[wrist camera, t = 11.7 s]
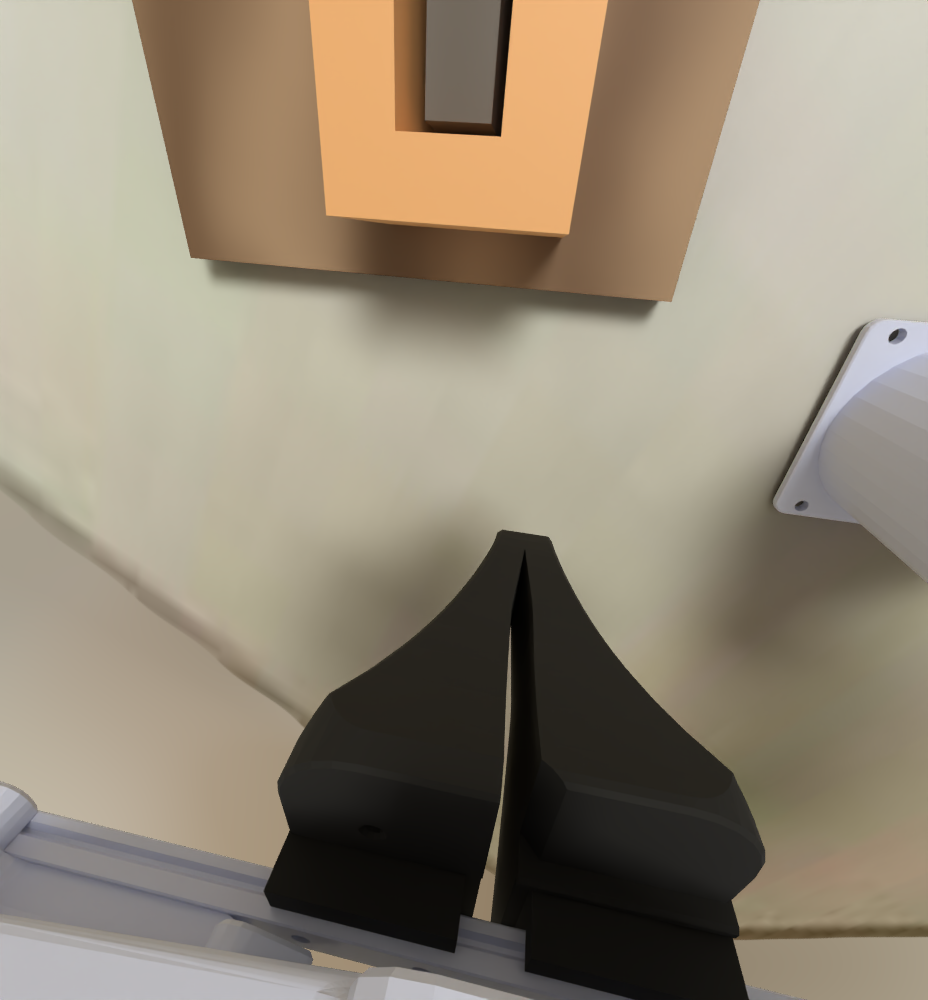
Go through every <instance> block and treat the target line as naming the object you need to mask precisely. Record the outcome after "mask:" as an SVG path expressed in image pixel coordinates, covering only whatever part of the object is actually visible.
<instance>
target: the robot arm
mask: <svg viewBox="0 0 928 1000" xmlns="http://www.w3.org/2000/svg"><path fill="white" fill-rule="evenodd" d="M896 329H899V334H898V336H897V337H896V338H895V339H894V340H892V341H890V342H889V341H888V338H889V335H890V334H891V333H892V332H893V331H895V330H896ZM800 501H804V502H803V503H802V504H801V505H799V506H795V505H796V504H797V503H798V502H800ZM773 506H774V507H775V508H776V509H777V510H778V511H779V512H781V513H785V514H792V515H799V516H806V517H814V518H821V519H828V520H836V521H843V522H850V523H857V524H861V525H862V526H863V527H864V528H866V529H867V530H868V531H869V532H870V533H871V534H872V535H873V536H875V537H876V538H877V539H878V540H879V541H880V542H881V543H883V544H884V545H885V546H886V547H887V548H888V549H889V550H890V551H892V552H893V553H894V554H895V555H896V556H897V557H898V558H900V559H901V560H902V561H903V562H904V563H905V564H906V565H907V566H909V567H910V568H911V569H912V570H913V571H914V572H915V573H916V574H918V575H919V576H920V577H921V578H922V579H923V580H924V581H926V582H927V583H928V322H920V321H909V320H898V319H887V318H880V319H875V320H873V321H871V322H869V323H868V324H867V325H865V326H864V328H863V329H862V330H861V332H860V334H859V335H858V337H857V339H856V341H855V343H854V345H853V347H852V349H851V351H850V353H849V355H848V357H847V359H846V360H845V362H844V364H843V366H842V368H841V370H840V372H839V374H838V376H837V378H836V380H835V382H834V384H833V385H832V387H831V389H830V391H829V393H828V395H827V397H826V399H825V401H824V403H823V405H822V407H821V409H820V410H819V412H818V414H817V416H816V418H815V420H814V422H813V424H812V426H811V428H810V430H809V432H808V434H807V435H806V437H805V439H804V441H803V443H802V445H801V447H800V449H799V451H798V453H797V455H796V457H795V458H794V460H793V462H792V464H791V466H790V468H789V470H788V472H787V474H786V476H785V478H784V480H783V482H782V483H781V485H780V487H779V489H778V491H777V493H776V495H775V497H774V499H773ZM510 628H511V720H510V732H509V743H508V754H507V765H506V775H505V786H504V796H503V806H502V816H501V827H500V837H499V847H498V857H497V866H496V876H495V885H494V895H493V905H492V914H491V922H489V921H485V920H481V919H477V918H473V917H472V916H473V912H474V907H475V903H476V899H477V894H478V889H479V885H480V881H481V878H483V874H484V869H485V865H486V861H487V857H488V852H489V848H490V844H491V839H492V835H493V831H494V826H495V822H496V818H497V813H498V809H499V805H500V798H501V788H502V776H503V763H504V736H505V709H506V687H507V668H508V651H509V636H510ZM278 793H279V796H280V800H281V803H282V806H283V809H284V813H285V816H286V819H287V822H288V825H289V829H290V831H289V833H288V836H287V838H286V841H285V843H284V845H283V847H282V849H281V852H280V854H279V856H278V859H277V861H276V863H275V865H274V868H270V867H266V866H262V865H258V864H254V863H250V862H246V861H242V860H238V859H234V858H229V857H226V856H222V855H217V854H213V853H209V852H205V851H201V850H197V849H193V848H189V847H185V846H181V845H177V844H172V843H169V842H165V841H161V840H157V839H153V838H148V837H144V836H140V835H136V834H132V833H128V832H124V831H120V830H116V829H112V828H108V827H104V826H100V825H96V824H92V823H87V822H84V821H80V820H75V819H71V818H67V817H63V816H59V815H55V814H51V813H47V812H43V811H38V810H37V805H36V804H35V802H34V801H33V800H32V799H31V798H30V797H29V796H28V795H27V794H26V793H25V792H23V791H22V790H21V789H19V788H17V787H15V786H13V785H10V784H7V783H4V782H1V781H0V1000H805V999H801V998H797V997H793V996H789V995H785V994H781V993H777V992H773V991H769V990H765V989H761V988H757V987H752V986H748V985H745V983H744V979H743V975H742V971H741V968H740V964H739V960H738V956H737V953H736V949H735V945H734V942H733V938H737V937H738V936H739V925H738V922H737V918H736V915H735V911H734V908H733V904H732V901H731V900H732V899H733V898H734V897H735V896H736V895H737V894H738V893H739V892H740V891H741V890H743V889H744V888H745V887H746V886H747V885H748V884H749V883H750V882H751V881H752V880H753V879H754V878H755V877H756V876H757V874H758V873H759V871H760V870H761V868H762V866H763V865H764V863H765V849H764V846H763V843H762V841H761V838H760V835H759V832H758V830H757V827H756V824H755V821H754V819H753V816H752V814H751V811H750V809H749V807H748V804H747V802H746V800H745V798H744V796H743V794H742V792H741V790H740V788H739V786H738V784H737V781H736V779H735V777H734V774H733V773H732V772H731V771H730V770H729V769H728V768H727V767H726V766H724V765H723V764H722V763H721V762H720V761H719V760H718V759H716V758H715V757H714V756H713V755H712V754H711V753H710V752H709V751H707V750H706V749H705V748H704V747H703V746H702V745H701V744H700V743H698V742H697V741H696V740H695V739H694V738H693V737H692V736H690V735H689V734H688V733H687V732H686V731H685V730H684V729H683V728H682V727H681V726H680V725H679V724H678V723H677V722H676V721H675V720H674V719H673V718H672V717H671V716H670V715H669V714H668V713H667V712H666V711H665V710H664V709H663V708H662V707H660V706H659V705H658V704H657V703H656V701H655V700H654V699H653V698H652V697H651V696H650V695H649V694H648V693H647V692H646V690H645V689H644V688H643V687H642V686H641V685H640V684H639V683H638V682H637V680H636V679H635V678H634V677H633V676H632V675H631V674H630V673H629V671H628V670H627V669H626V668H625V667H624V665H623V664H622V663H621V662H620V660H619V659H618V658H617V657H616V655H615V654H614V653H613V651H612V650H611V649H610V647H609V646H608V645H607V643H606V642H605V641H604V639H603V638H602V636H601V635H600V634H599V632H598V631H597V629H596V628H595V626H594V625H593V623H592V622H591V620H590V618H589V617H588V615H587V613H586V612H585V610H584V609H583V607H582V605H581V603H580V602H579V600H578V598H577V596H576V595H575V593H574V591H573V589H572V587H571V585H570V583H569V581H568V579H567V577H566V575H565V573H564V571H563V569H562V567H561V565H560V562H559V560H558V558H557V555H556V553H555V550H554V547H553V544H552V541H551V540H550V538H549V537H546V536H540V535H533V534H526V533H520V532H513V531H507V530H501V531H500V532H498V533H497V536H496V539H495V541H494V543H493V545H492V547H491V549H490V551H489V552H488V554H487V556H486V557H485V559H484V560H483V562H482V563H481V565H480V566H479V568H478V569H477V570H476V572H475V573H474V575H473V576H472V577H471V579H470V580H469V581H468V582H467V583H466V585H465V586H464V587H463V588H462V590H461V591H460V592H459V593H458V594H457V596H456V597H455V598H454V599H453V600H452V601H451V602H450V603H449V604H448V605H447V606H446V608H445V609H444V610H443V611H442V612H441V613H440V614H439V615H437V616H436V617H435V618H434V619H433V620H432V621H431V622H430V623H429V624H428V625H427V626H426V627H424V628H423V629H422V630H421V631H420V632H419V633H418V634H417V635H415V636H414V637H413V638H412V639H410V640H409V641H408V642H407V643H405V644H404V645H403V646H401V647H400V648H399V649H397V650H396V651H395V652H393V653H392V654H390V655H389V656H388V657H386V658H385V659H384V660H382V661H381V662H379V663H378V664H377V665H375V666H374V667H372V668H371V669H369V670H368V671H366V672H364V673H363V674H361V675H359V676H358V677H356V678H354V679H353V680H351V681H350V682H348V683H346V684H345V685H343V686H341V687H340V688H338V689H336V690H335V691H333V692H331V693H330V694H329V695H328V696H327V697H326V698H325V700H324V701H323V702H322V704H321V705H320V707H319V708H318V709H317V711H316V712H315V714H314V715H313V717H312V718H311V720H310V721H309V723H308V724H307V726H306V727H305V729H304V730H303V732H302V734H301V735H300V737H299V739H298V741H297V743H296V745H295V747H294V749H293V751H292V753H291V755H290V757H289V759H288V761H287V763H286V765H285V767H284V769H283V771H282V773H281V775H280V777H279V780H278ZM302 947H303V948H302ZM304 948H307V949H310V950H314V951H318V952H322V953H326V954H329V955H333V956H337V957H341V958H344V959H348V960H352V961H356V962H360V963H363V964H367V965H371V966H375V967H376V968H369V969H368V970H366V971H365V972H364V973H357V972H351V971H345V970H338V969H333V968H327V967H320V966H314V965H311V964H312V961H313V958H312V955H311V952H310V951H309V950H306V949H304Z"/></svg>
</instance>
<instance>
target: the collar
mask: <svg viewBox="0 0 928 1000" xmlns="http://www.w3.org/2000/svg"><path fill="white" fill-rule="evenodd" d="M607 3H608V0H513V8H512V19H511V30H510V42H509V53H508V64H507V76H506V87H505V98H504V110H503V121H502V132H501V137H497V136H479V135H461V134H443V133H437V132H436V131H435V130H434V129H433V128H432V127H431V126H430V125H429V124H428V123H427V122H426V121H425V84H426V23H427V0H309V10H310V22H311V34H312V47H313V59H314V71H315V83H316V96H317V108H318V120H319V132H320V145H321V157H322V169H323V181H324V194H325V206H326V215H327V216H334V217H342V218H349V219H356V220H363V221H370V222H377V223H385V224H394V225H407V226H420V227H432V228H445V229H458V230H470V231H483V232H496V233H508V234H521V235H534V236H546V237H559V238H562V237H564V236H566V235H568V234H569V230H570V224H571V219H572V213H573V207H574V201H575V195H576V189H577V183H578V177H579V171H580V165H581V159H582V153H583V147H584V141H585V135H586V129H587V123H588V117H589V111H590V105H591V99H592V93H593V87H594V81H595V75H596V69H597V63H598V57H599V51H600V45H601V39H602V33H603V27H604V21H605V15H606V9H607Z"/></svg>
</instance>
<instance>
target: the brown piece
mask: <svg viewBox="0 0 928 1000" xmlns="http://www.w3.org/2000/svg"><path fill="white" fill-rule="evenodd" d="M759 1H760V0H608V3H607V9H606V15H605V21H604V27H603V33H602V39H601V45H600V51H599V57H598V63H597V69H596V75H595V81H594V87H593V93H592V99H591V105H590V111H589V117H588V123H587V129H586V135H585V141H584V147H583V153H582V159H581V165H580V171H579V177H578V183H577V189H576V195H575V201H574V207H573V213H572V219H571V224H570V230H569V234H568V235H566V236H564V237H562V238H559V237H546V236H534V235H521V234H508V233H496V232H483V231H470V230H458V229H445V228H432V227H420V226H407V225H394V224H385V223H377V222H370V221H363V220H356V219H349V218H342V217H334V216H327V215H326V206H325V194H324V181H323V169H322V157H321V145H320V132H319V120H318V108H317V96H316V83H315V71H314V59H313V47H312V34H311V22H310V10H309V0H132V2H133V6H134V11H135V15H136V20H137V24H138V28H139V33H140V37H141V42H142V46H143V50H144V55H145V59H146V63H147V68H148V72H149V77H150V81H151V85H152V90H153V94H154V98H155V103H156V107H157V112H158V116H159V120H160V125H161V129H162V133H163V138H164V142H165V147H166V151H167V155H168V160H169V164H170V169H171V173H172V177H173V182H174V186H175V190H176V195H177V199H178V204H179V208H180V212H181V217H182V221H183V225H184V230H185V234H186V239H187V243H188V247H189V252H190V256H191V258H199V259H210V260H221V261H232V262H243V263H254V264H265V265H276V266H287V267H297V268H308V269H319V270H330V271H341V272H352V273H363V274H374V275H385V276H395V277H406V278H417V279H428V280H439V281H450V282H461V283H472V284H483V285H493V286H504V287H515V288H526V289H537V290H548V291H559V292H570V293H581V294H591V295H602V296H613V297H624V298H635V299H646V300H657V301H668V302H671V301H672V298H673V295H674V291H675V288H676V284H677V281H678V278H679V274H680V271H681V267H682V264H683V260H684V257H685V254H686V250H687V247H688V243H689V240H690V237H691V233H692V230H693V226H694V223H695V220H696V216H697V213H698V209H699V206H700V202H701V199H702V196H703V192H704V189H705V185H706V182H707V179H708V175H709V172H710V168H711V165H712V162H713V158H714V155H715V151H716V148H717V145H718V141H719V138H720V134H721V131H722V127H723V124H724V121H725V117H726V114H727V110H728V107H729V104H730V100H731V97H732V93H733V90H734V87H735V83H736V80H737V76H738V73H739V69H740V66H741V63H742V59H743V56H744V52H745V49H746V46H747V42H748V39H749V35H750V32H751V29H752V25H753V22H754V18H755V15H756V12H757V8H758V5H759ZM512 8H513V0H427V23H426V84H425V121H426V122H427V123H428V124H429V125H430V126H431V127H432V128H433V129H434V130H435V131H436V132H437V133H443V134H461V135H479V136H497V137H501V132H502V121H503V110H504V98H505V87H506V76H507V64H508V53H509V42H510V30H511V19H512Z"/></svg>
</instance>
